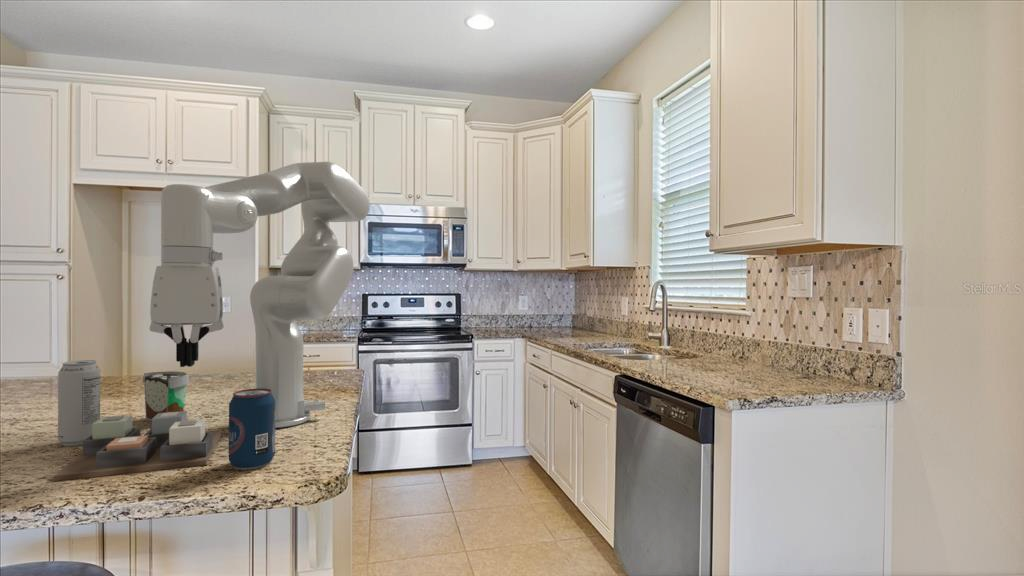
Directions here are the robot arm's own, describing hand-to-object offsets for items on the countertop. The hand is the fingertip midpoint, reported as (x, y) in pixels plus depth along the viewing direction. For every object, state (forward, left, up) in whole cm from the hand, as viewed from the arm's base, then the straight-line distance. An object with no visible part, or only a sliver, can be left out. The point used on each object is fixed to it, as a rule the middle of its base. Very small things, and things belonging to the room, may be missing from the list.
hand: (187, 365), depth 88 cm
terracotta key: (+8, 0, -15) cm, 17 cm away
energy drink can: (+20, -17, -16) cm, 31 cm away
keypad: (+6, -4, -16) cm, 18 cm away
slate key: (+4, -8, -13) cm, 16 cm away
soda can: (-11, +7, -16) cm, 21 cm away
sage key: (+13, -8, -13) cm, 20 cm away
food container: (+8, -30, -16) cm, 35 cm away
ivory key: (0, 0, -13) cm, 13 cm away
